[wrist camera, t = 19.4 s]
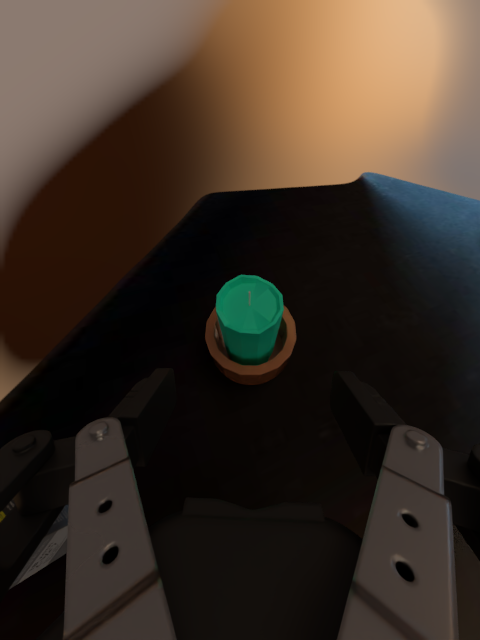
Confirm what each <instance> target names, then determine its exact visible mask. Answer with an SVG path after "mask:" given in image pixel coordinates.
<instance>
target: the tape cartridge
mask: <svg viewBox="0 0 480 640" xmlns="http://www.w3.org/2000/svg"><path fill="white" fill-rule="evenodd" d="M14 506H15V502H14V500H13V499H12V500H11V501H10V502H9V503H8V505H7V506H6V507H5V508H4V509H3V510H2V511H1V512H0V522H1V521H2V520H3V519H4V517H5V516H6V515H7V514H8V513H9V512H10V511H11V509H12V508H13V507H14ZM68 507H69V505H65V507H64V508H63V510H62V511H61V513H60V514H59V516H58V517H57V519H56V520H55V522H54V523H53V525H52V526H51V528H50V529H49V531H48V532H47V534H46V535H45V537H44V538H43V540H42V541H41V543H40V544H39V545H38V547H37V548H36V550H35V551H34V553H33V554H32V556H31V557H30V559H29V560H28V562H27V563H26V565H25V566H24V568H23V569H22V571H21V572H20V574H19V575H18V577H17V578H16V580H15V581H14V583H13V584H12V586H11V587H10V589H11V588H12V587H13V586H15V585H17V584H19V583H20V582H22V581H23V580H25V579H26V578H28V577H30V576H31V575H33V574H34V573H36V572H37V571H39V570H41V569H42V568H44V567H45V566H47V565H49V564H50V563H52V562H53V561H55V560H56V559H58V558H60V557H61V556H63V555H64V554H66V553H67V534H68Z"/></svg>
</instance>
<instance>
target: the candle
mask: <svg viewBox="0 0 480 640" xmlns="http://www.w3.org/2000/svg"><path fill="white" fill-rule="evenodd" d="M283 311H284V307H283V297H282V294H281V293H280V292H279V291H278V289H277V288H276V287H275V286H274V285H273V284H272V283H270V282H268V281H266V280H264V279H262V278H260V277H258V276H251V275H239V276H237V277H236V278H234V279H232V280H230V281H228V282H227V283H226V284H225V285H224V286H223V287H222V289H221V290H220V291H219V293H218V294H217V299H216V313H217V317H218V320H219V324H220V328H221V332H222V336H223V339H224V343H225V347H226V351H227V353H228V355H229V357H230V358H231V360H232V361H234V362H236V363H238V364H241V365H257V366H258V365H260V364H263V363H265V362H267V361H268V359H269V358H270V356H271V354H272V352H273V349H274V345H275V341H276V337H277V334H278V330H279V326H280V322H281V319H282V315H283Z"/></svg>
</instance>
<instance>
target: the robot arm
mask: <svg viewBox="0 0 480 640" xmlns="http://www.w3.org/2000/svg"><path fill="white" fill-rule="evenodd" d="M175 404H176V387H175V378H174V371H173V369H172V368H157V369H156V370H155V371H154V372H153V373H152V375H151V376H150V377H149V378H144V379H143V380H141V381H140V382H138V383H137V384H136V385H135V386H134V387H133V388H132V389H131V390H130V392H129V393H128V394H127V395H126V396H125V398H124V399H123V400H122V401H121V402H120V403H119V404H118V406H117V407H116V408H115V409H114V410H113V411H112V413H111V414H110V415H109V416H108V417H107V418H101V419H98V420H96V421H93V422H91V423H89V424H88V425H86V426H85V427H84V428H82V429H81V430H80V431H79V433H78V434H77V436H74V437H69V438H65V439H60V440H55V441H53V438H52V435H51V433H50V432H49V431H47V430H37V431H32V432H29V433H26V434H23V435H21V436H19V437H17V438H15V439H13V440H12V441H10V442H9V443H7V444H6V445H4V446H3V447H2V448H1V449H0V512H1V511H2V510H3V509H4V508H5V507H6V506H7V505H8V503H9V502H10V501H11V500H12V499H13V500H14V502H15V506H14V507H13V508H12V509H11V511H10V512H9V513H8V514H7V515H6V516H5V517H4V519H3V520H2V521H1V522H0V602H1V601H2V599H3V598H4V596H5V595H6V593H7V592H8V590H9V589H10V587H11V586H12V584H13V583H14V581H15V580H16V578H17V577H18V575H19V574H20V572H21V571H22V569H23V568H24V566H25V565H26V563H27V562H28V560H29V559H30V557H31V556H32V554H33V553H34V551H35V550H36V548H37V547H38V545H39V544H40V543H41V541H42V540H43V538H44V537H45V535H46V534H47V532H48V531H49V529H50V528H51V526H52V525H53V523H54V522H55V520H56V519H57V517H58V516H59V514H60V513H61V511H62V510H63V508H64V507H65V505H69V507H68V534H67V561H66V588H65V611H64V612H63V613H62V614H61V615H60V616H59V617H58V618H57V619H56V620H55V621H54V622H53V623H52V624H51V625H50V626H49V627H48V628H47V629H46V630H45V631H44V632H43V633H42V634H41V635H40V636H39V637H38V638H37V639H36V640H459V632H458V614H457V596H456V578H455V559H454V541H453V524H455V526H456V527H457V529H458V530H459V531H460V533H461V534H462V536H463V537H464V539H465V540H466V542H467V543H468V545H469V546H470V547H471V549H472V550H473V552H474V553H475V555H476V556H477V558H478V559H479V560H480V444H476V445H474V446H473V448H472V450H471V453H470V454H466V453H462V452H458V451H454V450H450V449H446V448H442V447H441V445H440V444H439V442H438V441H437V440H436V439H435V438H433V437H432V436H431V435H429V434H428V433H426V432H424V431H422V430H420V429H418V428H415V427H412V426H408V425H406V424H405V422H404V421H403V420H402V419H401V418H400V417H399V416H398V415H397V413H396V412H395V411H394V410H393V409H392V408H391V407H390V406H389V404H387V402H386V401H385V400H384V399H383V398H381V395H380V394H379V393H378V392H377V391H376V390H375V389H374V388H373V387H371V386H370V385H368V384H366V383H365V382H360V381H359V379H358V378H357V377H356V376H355V375H354V373H353V372H351V371H335V372H334V374H333V380H332V388H331V395H330V406H331V410H332V413H333V415H334V417H335V419H336V421H337V423H338V425H339V427H340V429H341V430H342V432H343V434H344V436H345V438H346V440H347V442H348V444H349V446H350V448H351V450H352V452H353V454H354V456H355V458H356V460H357V462H358V464H359V466H360V468H361V470H362V472H363V474H364V476H376V477H377V478H378V482H377V486H376V490H375V494H374V498H373V502H372V506H371V510H370V514H369V517H368V521H367V525H366V529H365V533H364V537H363V540H362V539H361V538H360V537H359V536H358V535H356V534H355V533H354V532H352V531H351V530H349V529H348V528H347V527H345V526H343V525H342V524H340V523H338V522H336V521H334V520H332V519H330V518H327V517H324V513H323V510H322V506H321V503H306V502H284V503H280V504H276V505H272V506H268V507H264V508H260V509H256V510H250V509H247V508H244V507H241V506H238V505H235V504H232V503H229V502H226V501H223V500H220V499H212V498H188V497H186V499H185V503H184V507H183V510H182V511H178V512H175V513H173V514H170V515H168V516H166V517H164V518H162V519H161V520H159V521H158V522H156V523H155V524H153V525H152V526H151V527H149V528H148V527H147V523H146V519H145V515H144V511H143V507H142V503H141V499H140V496H139V492H138V488H137V484H136V480H135V476H134V472H133V469H134V467H135V466H141V467H146V465H147V463H148V461H149V459H150V457H151V455H152V453H153V451H154V449H155V447H156V445H157V443H158V440H159V438H160V436H161V434H162V432H163V430H164V428H165V426H166V424H167V422H168V420H169V418H170V416H171V414H172V412H173V410H174V407H175Z"/></svg>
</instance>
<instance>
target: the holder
mask: <svg viewBox="0 0 480 640" xmlns="http://www.w3.org/2000/svg"><path fill="white" fill-rule="evenodd" d="M283 307H284V311H283V315H282V319H281V322H280V326H279V330H278V334H277V337H276V341H275V345H274V349H273V352H272V354H271V356H270V358H269V359H268V361H267V362H265V363H263V364H260V365H258V366H257V365H241V364H238V363H236V362H234V361H232V360H231V358H230V357H229V355H228V353H227V351H226V347H225V343H224V339H223V336H222V332H221V328H220V324H219V320H218V317H217V313H216V307H215V308H214V310H213V312H212V313H211V315H210V317H209V319H208V320H207V323H206V333H205V340H206V343H207V346H208V349H209V352H210V354H211V356H212V359H213V361H214V363H215V365H216V366H217V367H218V369H219V370H220V371H221V372H222V373H223V374H224V375H225V376H226V377H227V378H229V379H230V380H232V381H234V382H237V383H239V384H244V385H258V384H262V383H265V382H267V381H269V380H271V379H273V378H274V377H276V376H277V375H278V374H279V373H280V372H281V371H282V369H283V368H284V367H285V366H286V364H287V362H288V360H289V357H290V355H291V353H292V350H293V347H294V345H295V342H296V329H295V322H294V320H293V318H292V316H291V315H290V313H289V311H288V309H287V308H286V307H285V306H284V305H283Z"/></svg>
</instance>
